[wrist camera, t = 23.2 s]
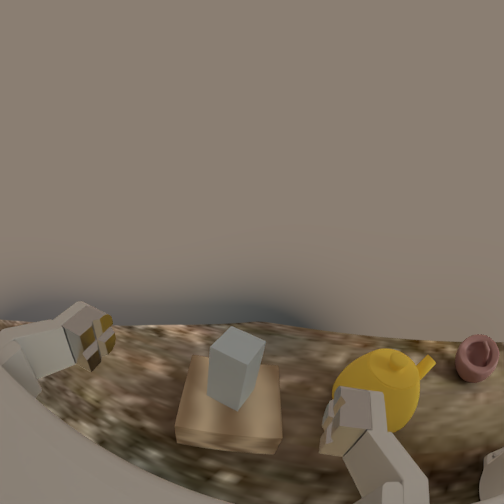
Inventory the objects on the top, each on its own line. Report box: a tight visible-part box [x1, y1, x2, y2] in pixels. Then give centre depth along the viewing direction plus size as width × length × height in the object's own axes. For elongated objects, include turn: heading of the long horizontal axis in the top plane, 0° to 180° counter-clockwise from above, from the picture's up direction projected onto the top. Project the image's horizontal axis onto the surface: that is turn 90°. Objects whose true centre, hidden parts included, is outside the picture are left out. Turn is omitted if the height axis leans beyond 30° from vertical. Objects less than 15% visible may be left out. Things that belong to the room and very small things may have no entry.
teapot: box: [332, 349, 436, 433], centre depth 39 cm, size 20×16×14 cm
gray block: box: [207, 326, 266, 411], centre depth 35 cm, size 5×5×10 cm
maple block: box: [174, 355, 283, 454], centre depth 38 cm, size 14×14×6 cm
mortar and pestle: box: [455, 334, 499, 383], centre depth 45 cm, size 12×12×11 cm
